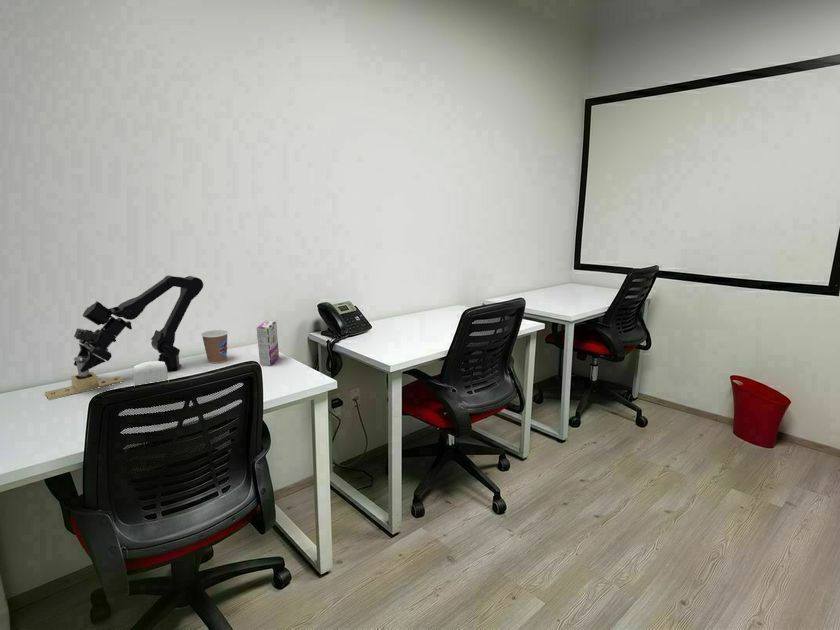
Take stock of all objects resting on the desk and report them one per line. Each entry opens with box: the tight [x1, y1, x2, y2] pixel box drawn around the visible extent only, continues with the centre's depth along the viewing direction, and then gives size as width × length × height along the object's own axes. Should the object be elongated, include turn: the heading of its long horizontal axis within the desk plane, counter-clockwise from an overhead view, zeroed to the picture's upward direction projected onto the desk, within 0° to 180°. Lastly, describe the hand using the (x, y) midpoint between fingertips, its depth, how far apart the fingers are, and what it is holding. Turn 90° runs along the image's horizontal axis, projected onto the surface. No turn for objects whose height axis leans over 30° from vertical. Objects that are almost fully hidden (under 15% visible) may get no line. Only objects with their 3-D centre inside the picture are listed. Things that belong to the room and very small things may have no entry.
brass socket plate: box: [44, 371, 125, 401], centre depth 172 cm, size 23×7×4 cm, turn 136°
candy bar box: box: [256, 320, 280, 367], centre depth 201 cm, size 11×5×16 cm, turn 179°
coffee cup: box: [201, 329, 229, 364], centre depth 202 cm, size 10×10×12 cm
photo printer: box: [132, 360, 169, 385], centre depth 165 cm, size 10×4×12 cm, turn 123°
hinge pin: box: [73, 355, 90, 379], centre depth 171 cm, size 4×4×12 cm
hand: (78, 368), depth 170 cm, fingers open, 9 cm apart
